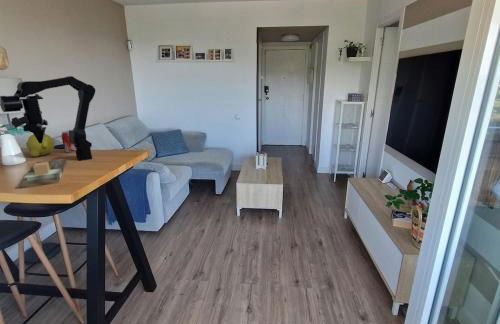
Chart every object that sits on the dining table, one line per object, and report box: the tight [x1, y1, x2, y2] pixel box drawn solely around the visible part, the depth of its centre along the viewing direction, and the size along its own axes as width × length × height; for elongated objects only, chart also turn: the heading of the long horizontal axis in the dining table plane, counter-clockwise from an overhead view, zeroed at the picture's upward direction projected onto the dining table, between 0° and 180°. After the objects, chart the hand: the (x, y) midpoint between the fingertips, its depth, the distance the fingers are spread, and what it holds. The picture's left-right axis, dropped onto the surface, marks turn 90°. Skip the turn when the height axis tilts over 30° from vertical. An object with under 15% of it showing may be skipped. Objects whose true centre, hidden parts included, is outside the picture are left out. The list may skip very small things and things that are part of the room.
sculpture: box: [25, 133, 55, 158], centre depth 154 cm, size 15×13×13 cm
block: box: [32, 162, 50, 175], centre depth 116 cm, size 4×4×4 cm
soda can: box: [60, 130, 77, 154], centre depth 160 cm, size 7×7×12 cm
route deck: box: [19, 158, 68, 189], centre depth 122 cm, size 12×32×4 cm, turn 27°
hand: (40, 143), depth 130 cm, fingers closed
